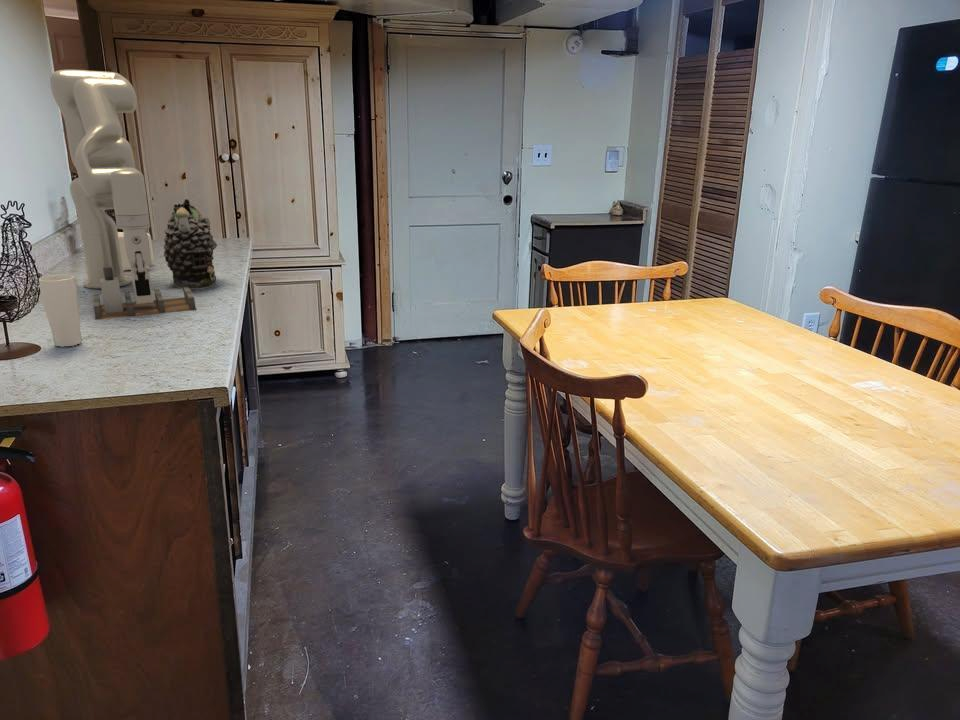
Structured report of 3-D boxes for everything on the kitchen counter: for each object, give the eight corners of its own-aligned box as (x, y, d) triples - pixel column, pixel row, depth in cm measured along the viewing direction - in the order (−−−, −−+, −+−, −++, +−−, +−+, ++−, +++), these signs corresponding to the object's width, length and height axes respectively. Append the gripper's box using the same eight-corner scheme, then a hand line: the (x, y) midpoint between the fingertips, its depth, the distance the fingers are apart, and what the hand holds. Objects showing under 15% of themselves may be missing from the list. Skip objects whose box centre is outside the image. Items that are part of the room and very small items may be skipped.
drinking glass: (61, 351, 150) (48, 282, 145) (44, 345, 153) (31, 278, 148) (92, 343, 155) (81, 277, 150) (75, 338, 159) (63, 273, 154)
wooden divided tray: (95, 309, 182) (92, 294, 181) (189, 301, 192) (187, 286, 191) (96, 324, 170) (93, 307, 168) (196, 314, 180) (194, 298, 179)
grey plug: (105, 309, 178) (98, 266, 175) (122, 307, 180) (116, 265, 176) (105, 313, 175) (98, 269, 171) (123, 311, 177) (116, 268, 173)
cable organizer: (101, 272, 226) (96, 236, 222) (106, 266, 236) (101, 231, 232) (152, 270, 231) (147, 235, 227) (155, 264, 240) (150, 230, 236)
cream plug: (152, 298, 183) (146, 257, 179) (153, 302, 179) (147, 259, 176) (135, 300, 181) (129, 258, 177) (136, 303, 178) (130, 260, 174)
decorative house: (223, 290, 206) (214, 203, 198) (167, 293, 200) (156, 205, 192) (219, 276, 224) (210, 196, 216) (168, 279, 218) (157, 197, 210)
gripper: (152, 225, 168) (162, 299, 174) (147, 216, 182) (156, 285, 188) (117, 226, 165) (128, 302, 171) (115, 218, 179) (125, 288, 185)
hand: (143, 292), depth 179 cm, fingers closed on cream plug, 3 cm apart
